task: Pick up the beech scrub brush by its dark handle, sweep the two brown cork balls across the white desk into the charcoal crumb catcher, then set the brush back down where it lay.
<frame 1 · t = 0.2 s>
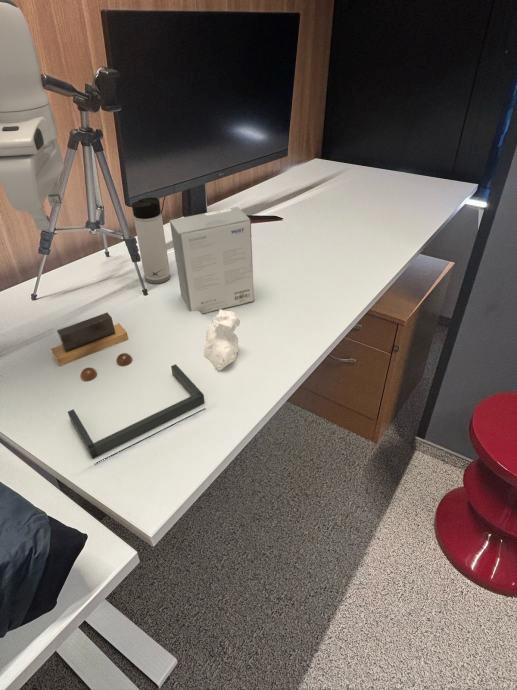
hand: (50, 216, 79), 29 cm above the table, tool pointing down, fingers open, 8 cm apart
catcher: (140, 417, 82), on the table
travel mug: (158, 278, 120), on the table
bust: (223, 358, 95), on the table
chip b: (124, 360, 92), point 1 cm above the table
brush: (93, 352, 96), on the table
hard drive box: (217, 301, 111), on the table
chip a: (88, 375, 89), point 1 cm above the table
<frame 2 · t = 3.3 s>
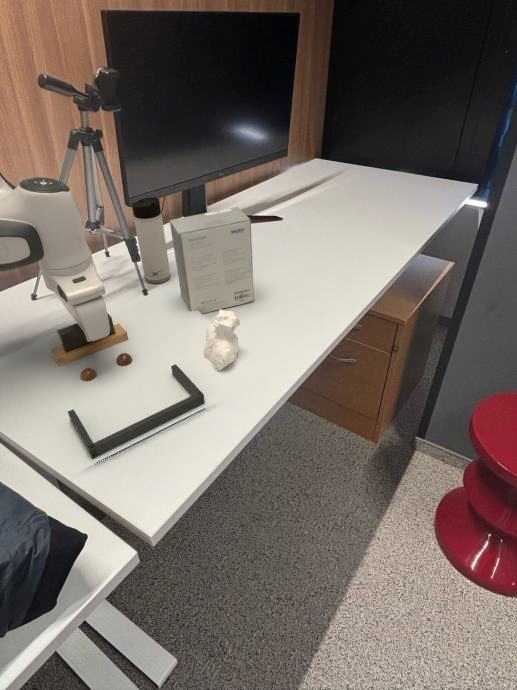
hand: (87, 334, 93), 5 cm above the table, tool pointing down, fingers closed on brush, 2 cm apart
brush: (93, 352, 96), on the table, touching gripper
everything else where it was.
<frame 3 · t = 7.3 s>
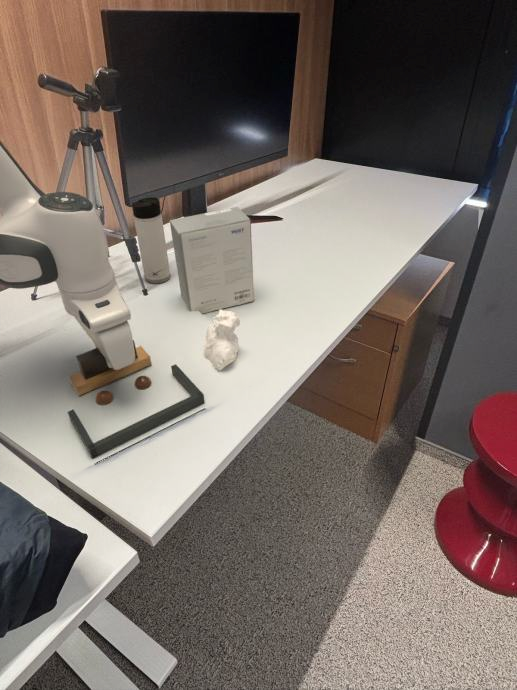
hand: (108, 359, 86), 5 cm above the table, tool pointing down, fingers closed on brush, 2 cm apart
chip b: (143, 383, 87), point 1 cm above the table, tilted 48°
brush: (113, 378, 89), point 1 cm above the table, touching gripper
chip a: (104, 398, 84), point 1 cm above the table, tilted 68°
everything else where it was.
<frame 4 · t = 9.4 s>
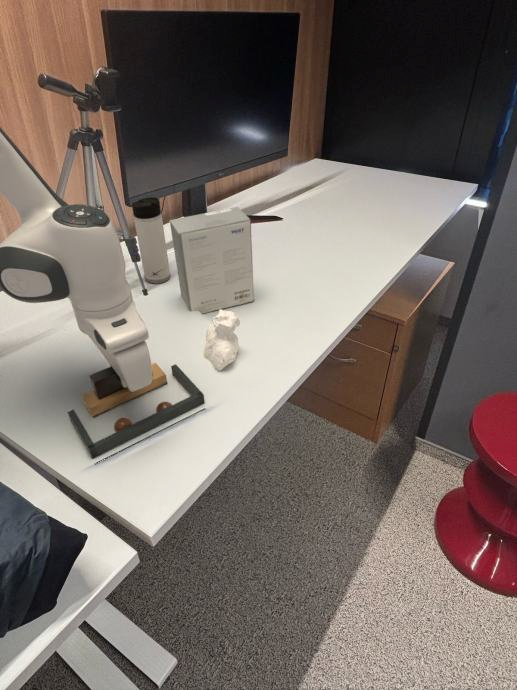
hand: (122, 378, 82), 5 cm above the table, tool pointing down, fingers closed on brush, 2 cm apart
chip b: (165, 410, 81), point 1 cm above the table, tilted 89°
brush: (127, 397, 85), point 1 cm above the table, touching gripper
chip a: (123, 426, 79), point 1 cm above the table, tilted 119°
everything else where it was.
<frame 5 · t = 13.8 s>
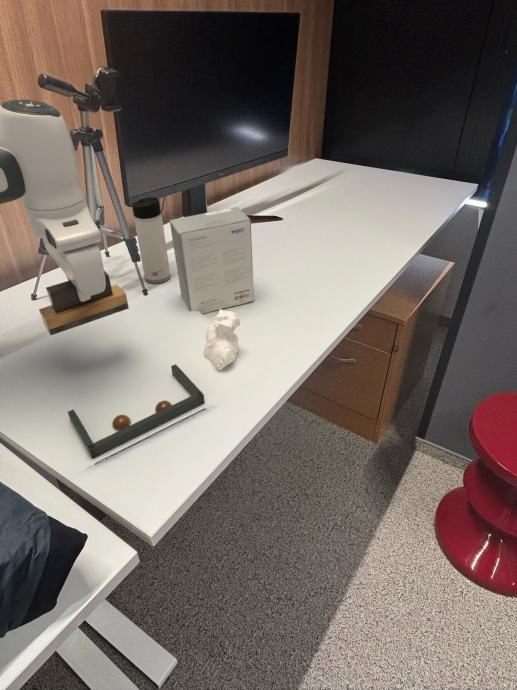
hand: (81, 294, 82), 17 cm above the table, tool pointing down, fingers closed on brush, 2 cm apart
chip b: (164, 409, 81), point 1 cm above the table, tilted 100°
brush: (87, 316, 85), point 12 cm above the table, touching gripper
chip a: (121, 423, 79), point 1 cm above the table, tilted 149°
everything else where it was.
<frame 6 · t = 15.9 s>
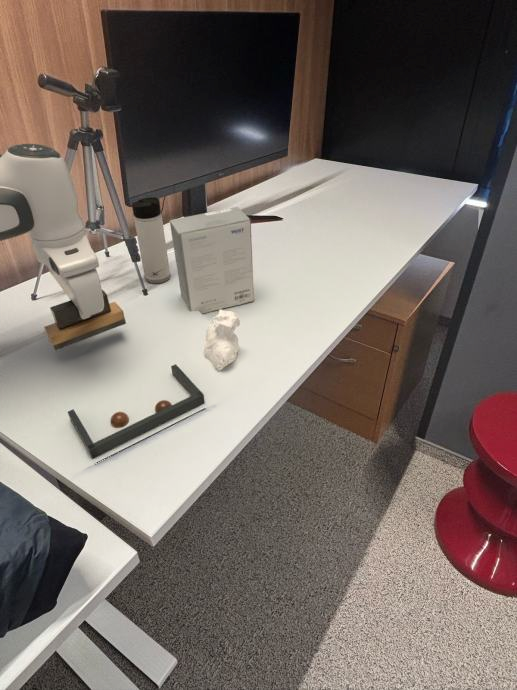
hand: (82, 312, 90), 10 cm above the table, tool pointing down, fingers closed on brush, 2 cm apart
chip b: (163, 409, 82), point 1 cm above the table, tilted 105°
brush: (88, 331, 93), point 5 cm above the table, touching gripper
chip a: (119, 420, 80), point 1 cm above the table, tilted 179°
everything else where it was.
when the fingers open (4 cm above the table, at t = 17.2 s): brush stays where it is, on the table.
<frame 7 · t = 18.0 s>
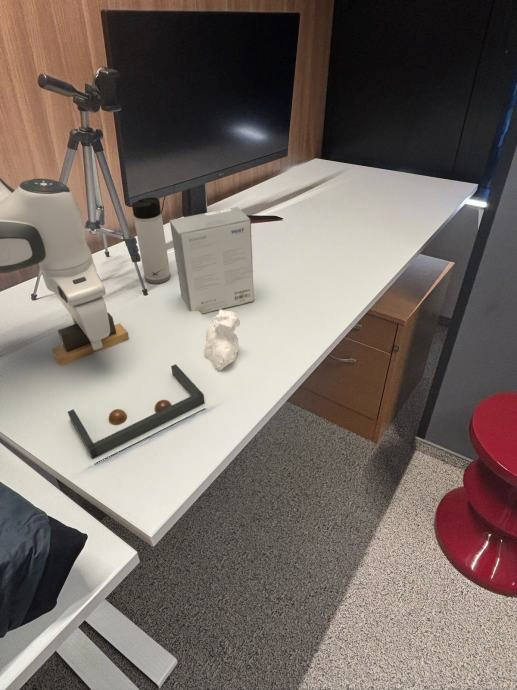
hand: (88, 335, 94), 4 cm above the table, tool pointing down, fingers open, 8 cm apart
chip b: (163, 408, 82), point 1 cm above the table, tilted 111°
brush: (94, 352, 96), on the table
chip a: (117, 418, 80), point 1 cm above the table, tilted 151°
everything else where it was.
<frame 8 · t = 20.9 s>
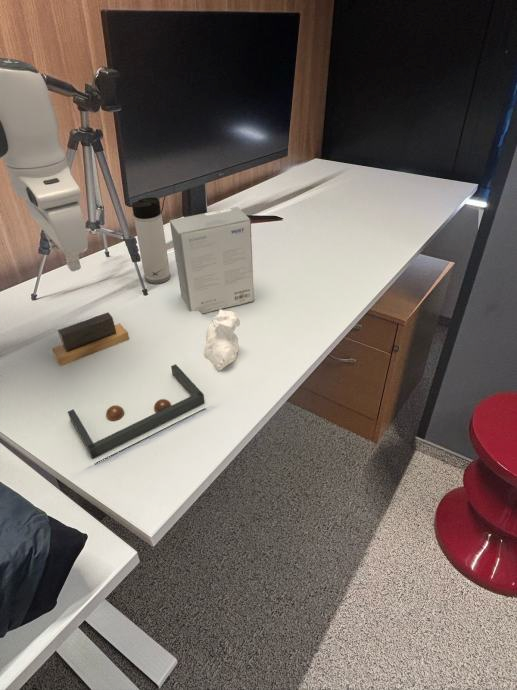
hand: (65, 258, 83), 21 cm above the table, tool pointing down, fingers open, 8 cm apart
chip b: (162, 407, 82), point 1 cm above the table, tilted 118°
chip a: (115, 414, 81), point 1 cm above the table, tilted 109°
everything else where it was.
at the end: chip a inside the target area on the catcher (3.7 cm from its centre), point 1.5 cm above the catcher's base; chip b inside the target area on the catcher (4.3 cm from its centre), point 1.5 cm above the catcher's base; brush inside the target area (0.5 cm from its centre), on the table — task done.
